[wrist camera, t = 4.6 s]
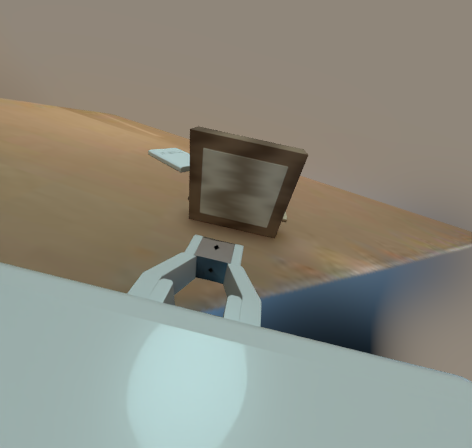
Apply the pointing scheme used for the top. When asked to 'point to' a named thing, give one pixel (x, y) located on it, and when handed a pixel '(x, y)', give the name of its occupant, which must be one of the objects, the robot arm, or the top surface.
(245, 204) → the walnut picture frame
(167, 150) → the external hard drive
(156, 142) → the top surface
